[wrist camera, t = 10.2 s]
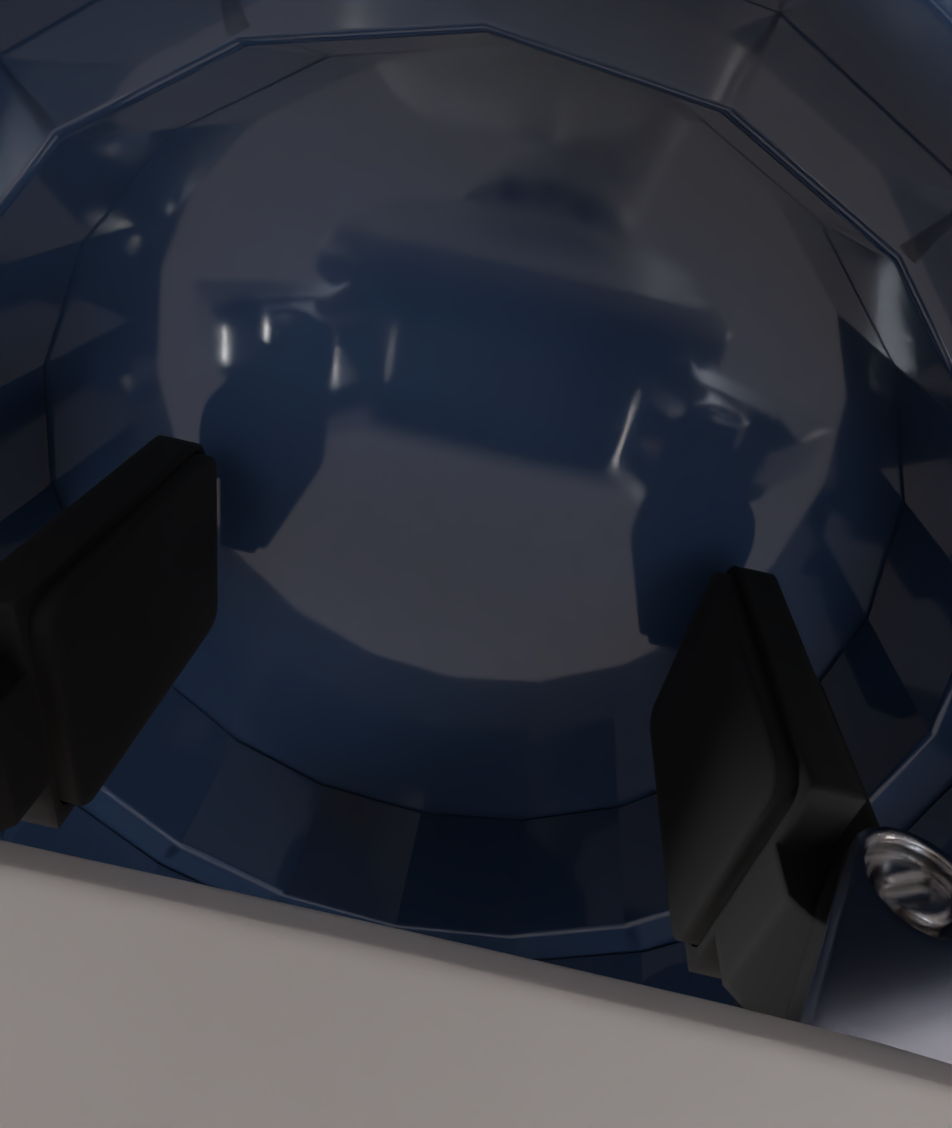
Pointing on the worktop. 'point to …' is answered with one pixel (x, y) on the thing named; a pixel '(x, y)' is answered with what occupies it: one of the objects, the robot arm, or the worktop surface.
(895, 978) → the robot arm
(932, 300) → the bowl
